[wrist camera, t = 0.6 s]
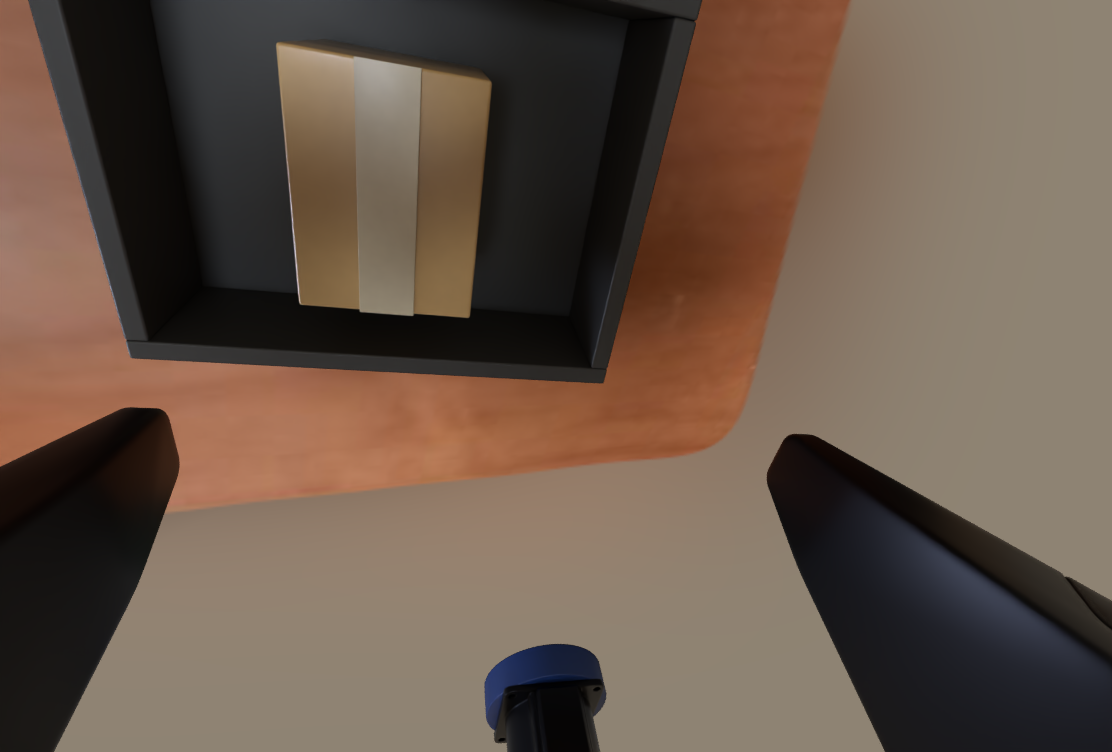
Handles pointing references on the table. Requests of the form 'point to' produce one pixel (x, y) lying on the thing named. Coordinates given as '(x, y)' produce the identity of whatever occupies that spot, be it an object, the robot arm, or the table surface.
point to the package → (383, 176)
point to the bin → (263, 193)
